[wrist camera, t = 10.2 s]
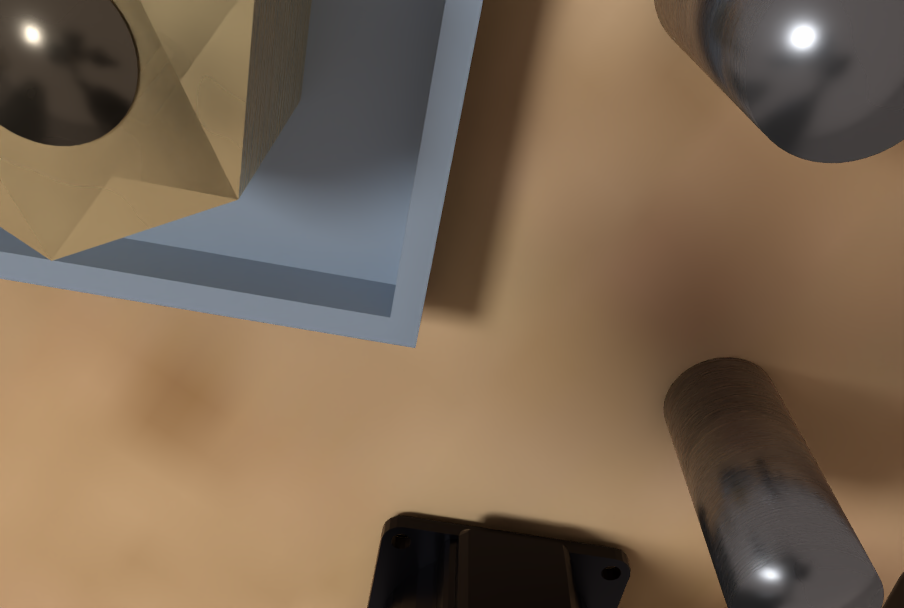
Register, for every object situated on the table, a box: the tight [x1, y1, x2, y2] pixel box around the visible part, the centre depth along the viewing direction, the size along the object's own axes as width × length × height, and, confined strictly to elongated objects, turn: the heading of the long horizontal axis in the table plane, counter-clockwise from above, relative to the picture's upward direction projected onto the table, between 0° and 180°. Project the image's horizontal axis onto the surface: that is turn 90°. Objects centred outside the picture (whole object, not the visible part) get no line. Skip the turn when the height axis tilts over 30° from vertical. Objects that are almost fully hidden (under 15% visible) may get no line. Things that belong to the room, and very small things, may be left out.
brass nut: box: [0, 0, 312, 261], centre depth 13 cm, size 6×5×5 cm
